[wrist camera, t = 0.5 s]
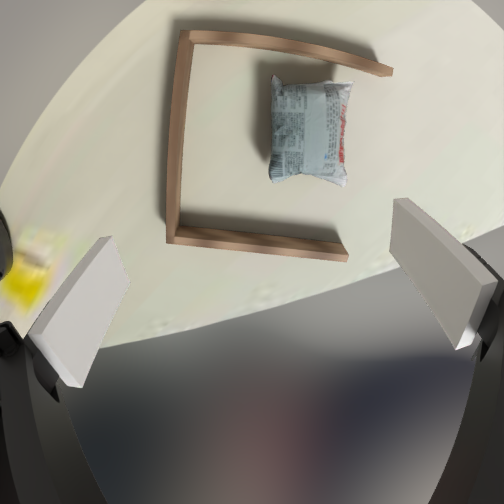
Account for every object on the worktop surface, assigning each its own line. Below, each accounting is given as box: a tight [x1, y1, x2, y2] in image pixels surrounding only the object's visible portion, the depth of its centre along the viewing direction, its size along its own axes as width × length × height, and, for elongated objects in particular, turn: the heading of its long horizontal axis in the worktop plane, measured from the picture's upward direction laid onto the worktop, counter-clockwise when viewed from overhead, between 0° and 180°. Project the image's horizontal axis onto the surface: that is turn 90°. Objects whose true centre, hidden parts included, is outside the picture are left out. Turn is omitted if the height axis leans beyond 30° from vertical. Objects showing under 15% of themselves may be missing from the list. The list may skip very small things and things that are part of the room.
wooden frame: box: [166, 30, 393, 262], centre depth 30 cm, size 22×24×3 cm
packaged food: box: [269, 75, 354, 187], centre depth 28 cm, size 9×12×5 cm
